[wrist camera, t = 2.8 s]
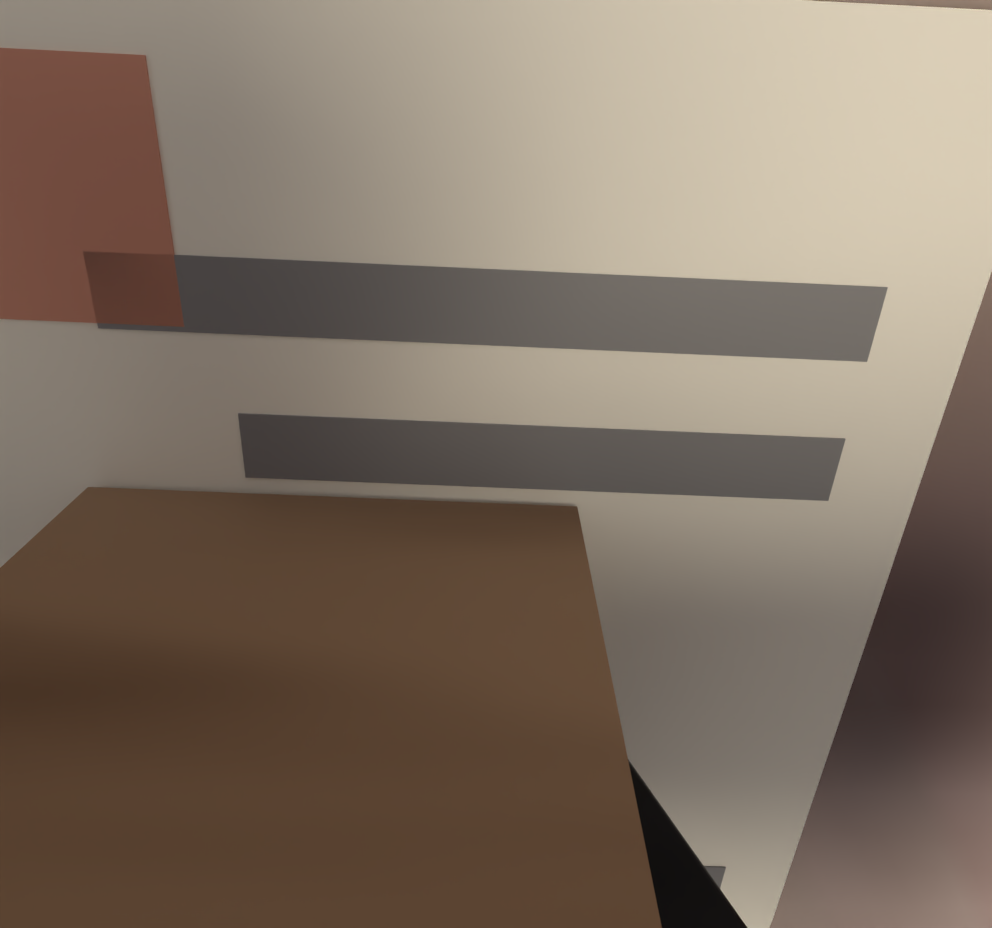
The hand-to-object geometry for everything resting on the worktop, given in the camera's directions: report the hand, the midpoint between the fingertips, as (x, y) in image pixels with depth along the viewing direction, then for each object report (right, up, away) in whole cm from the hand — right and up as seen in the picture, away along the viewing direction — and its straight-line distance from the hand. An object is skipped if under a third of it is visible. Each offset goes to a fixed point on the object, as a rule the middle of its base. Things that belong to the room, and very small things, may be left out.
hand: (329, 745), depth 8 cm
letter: (+1, +1, +1) cm, 2 cm away
